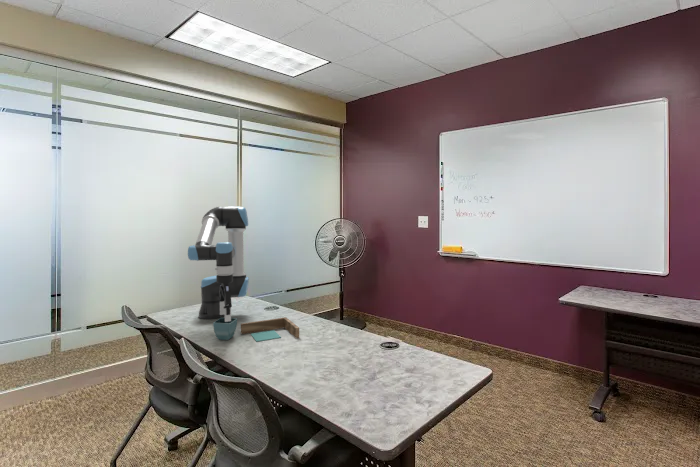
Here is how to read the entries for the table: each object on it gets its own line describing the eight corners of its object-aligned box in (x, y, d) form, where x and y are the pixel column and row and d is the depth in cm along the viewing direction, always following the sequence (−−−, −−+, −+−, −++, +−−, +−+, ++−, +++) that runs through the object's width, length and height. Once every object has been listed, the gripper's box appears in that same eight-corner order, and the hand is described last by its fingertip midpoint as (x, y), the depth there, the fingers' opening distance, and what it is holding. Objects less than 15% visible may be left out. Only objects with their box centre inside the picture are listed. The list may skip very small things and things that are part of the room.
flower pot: (238, 335, 183) (237, 317, 182) (230, 341, 174) (230, 323, 173) (221, 335, 183) (220, 317, 183) (212, 341, 175) (212, 322, 174)
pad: (250, 334, 184) (250, 333, 184) (273, 330, 190) (273, 329, 190) (256, 341, 174) (256, 341, 174) (281, 337, 180) (281, 337, 180)
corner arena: (240, 333, 186) (240, 323, 186) (286, 326, 197) (286, 317, 197) (250, 346, 168) (249, 335, 168) (299, 337, 180) (299, 327, 180)
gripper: (212, 271, 186) (213, 312, 187) (220, 278, 164) (221, 325, 165) (227, 270, 189) (228, 311, 190) (237, 277, 167) (238, 323, 168)
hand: (225, 317), depth 178 cm, fingers open, 13 cm apart
